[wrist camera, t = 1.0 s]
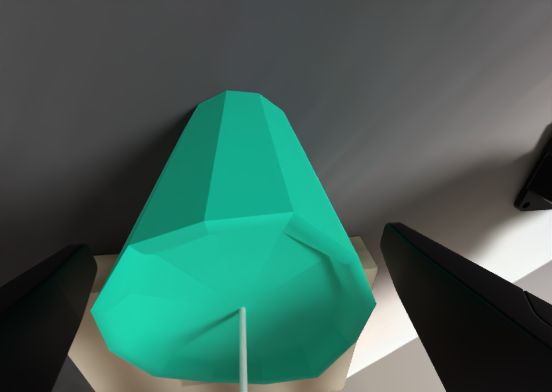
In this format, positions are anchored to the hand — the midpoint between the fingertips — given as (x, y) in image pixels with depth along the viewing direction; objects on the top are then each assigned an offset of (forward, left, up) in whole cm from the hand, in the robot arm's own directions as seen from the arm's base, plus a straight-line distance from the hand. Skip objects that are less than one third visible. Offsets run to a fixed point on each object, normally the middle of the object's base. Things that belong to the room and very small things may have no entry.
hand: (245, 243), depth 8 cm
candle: (0, 0, -8) cm, 8 cm away
